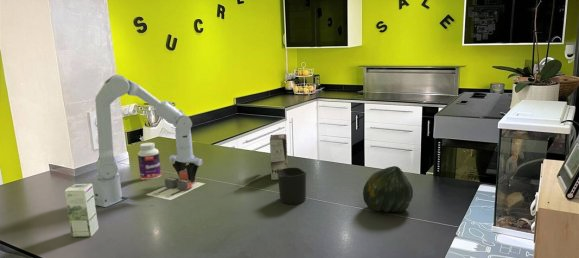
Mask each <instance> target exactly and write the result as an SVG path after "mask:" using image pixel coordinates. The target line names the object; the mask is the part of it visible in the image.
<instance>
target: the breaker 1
mask: <svg viewBox="0 0 579 258" xmlns="http://www.w3.org/2000/svg"><path fill="white" fill-rule="evenodd" d="M179 180H180V179H179V177H172V176H170V177H168V178H165V179H164V187H167V188H172V189H174V188H176V187H177V181H179Z"/></svg>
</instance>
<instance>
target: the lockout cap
mask: <svg viewBox="0 0 579 258" xmlns="http://www.w3.org/2000/svg"><path fill="white" fill-rule="evenodd" d="M178 178H179V180H182V179H185V180H189V177H188V172H187V170H186V169H185V170H182V171H180V172H179V176H178ZM195 182H196V181H195ZM195 182H192V183H191V185H192V184H194V183H195Z"/></svg>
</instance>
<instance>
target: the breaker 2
mask: <svg viewBox="0 0 579 258" xmlns="http://www.w3.org/2000/svg"><path fill="white" fill-rule="evenodd" d="M191 188H192V185H191V181H190V180H185V179H182V180H180V179H179V181H177V189H178V190H183V191H187V190H189V189H191Z"/></svg>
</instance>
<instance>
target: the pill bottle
mask: <svg viewBox="0 0 579 258" xmlns="http://www.w3.org/2000/svg"><path fill="white" fill-rule="evenodd" d="M155 146H156V145H155V142H144V143H141V144H140V145H139V148H140V150H139V151H138V152H137V160H138V167H139V168H138V169H139V176H140V177H139V178H140V179H141V180H142V181H144V180H154V179H158V178H159V177H161V176H162V168H161V161H160V160H161V159H160V152H159V150H158V148H155Z"/></svg>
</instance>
